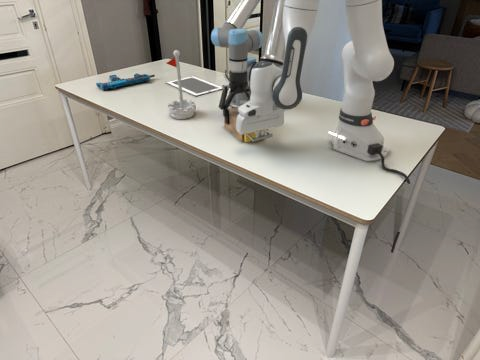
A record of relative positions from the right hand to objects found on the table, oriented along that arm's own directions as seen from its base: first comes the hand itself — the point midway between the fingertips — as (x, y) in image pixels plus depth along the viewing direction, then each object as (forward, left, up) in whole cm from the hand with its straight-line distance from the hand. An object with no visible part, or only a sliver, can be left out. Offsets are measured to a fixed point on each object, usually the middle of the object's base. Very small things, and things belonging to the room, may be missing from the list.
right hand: (260, 139), depth 137 cm
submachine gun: (+116, +14, -3) cm, 117 cm away
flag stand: (+48, +10, -3) cm, 49 cm away
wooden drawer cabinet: (+14, -2, -3) cm, 15 cm away
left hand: (+19, -3, +1) cm, 19 cm away
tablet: (+84, -17, -3) cm, 85 cm away
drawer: (+8, -1, -2) cm, 9 cm away
